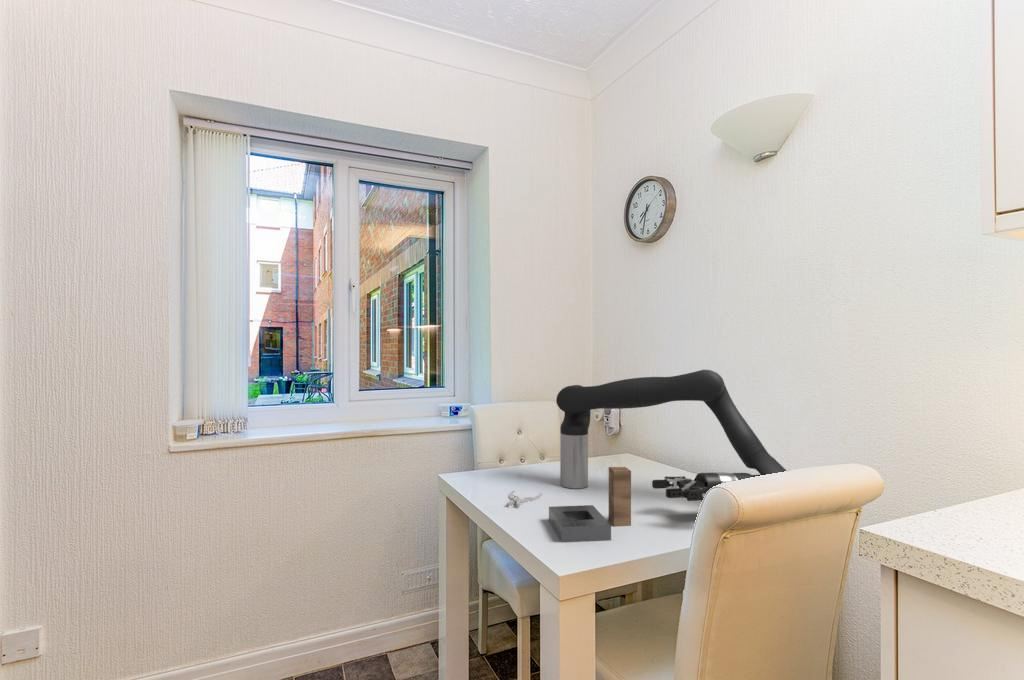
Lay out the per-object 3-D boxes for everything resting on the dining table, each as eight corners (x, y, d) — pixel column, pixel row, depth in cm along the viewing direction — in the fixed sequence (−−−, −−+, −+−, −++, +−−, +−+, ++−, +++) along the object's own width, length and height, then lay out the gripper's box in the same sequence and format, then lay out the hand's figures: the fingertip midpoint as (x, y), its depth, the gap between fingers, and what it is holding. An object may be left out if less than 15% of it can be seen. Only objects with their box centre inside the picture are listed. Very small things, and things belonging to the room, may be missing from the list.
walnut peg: (608, 520, 129) (608, 467, 129) (624, 519, 129) (624, 466, 129) (614, 526, 124) (614, 471, 124) (631, 525, 125) (631, 470, 125)
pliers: (542, 490, 151) (529, 505, 137) (542, 495, 151) (529, 510, 137) (512, 487, 154) (496, 501, 140) (512, 492, 154) (496, 507, 140)
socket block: (548, 520, 128) (548, 506, 128) (592, 518, 130) (592, 505, 130) (561, 542, 113) (561, 527, 114) (611, 540, 115) (611, 525, 115)
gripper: (703, 466, 137) (648, 467, 135) (732, 479, 123) (671, 481, 121) (703, 493, 137) (648, 495, 135) (732, 509, 123) (671, 511, 121)
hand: (659, 488), depth 128 cm, fingers open, 8 cm apart
